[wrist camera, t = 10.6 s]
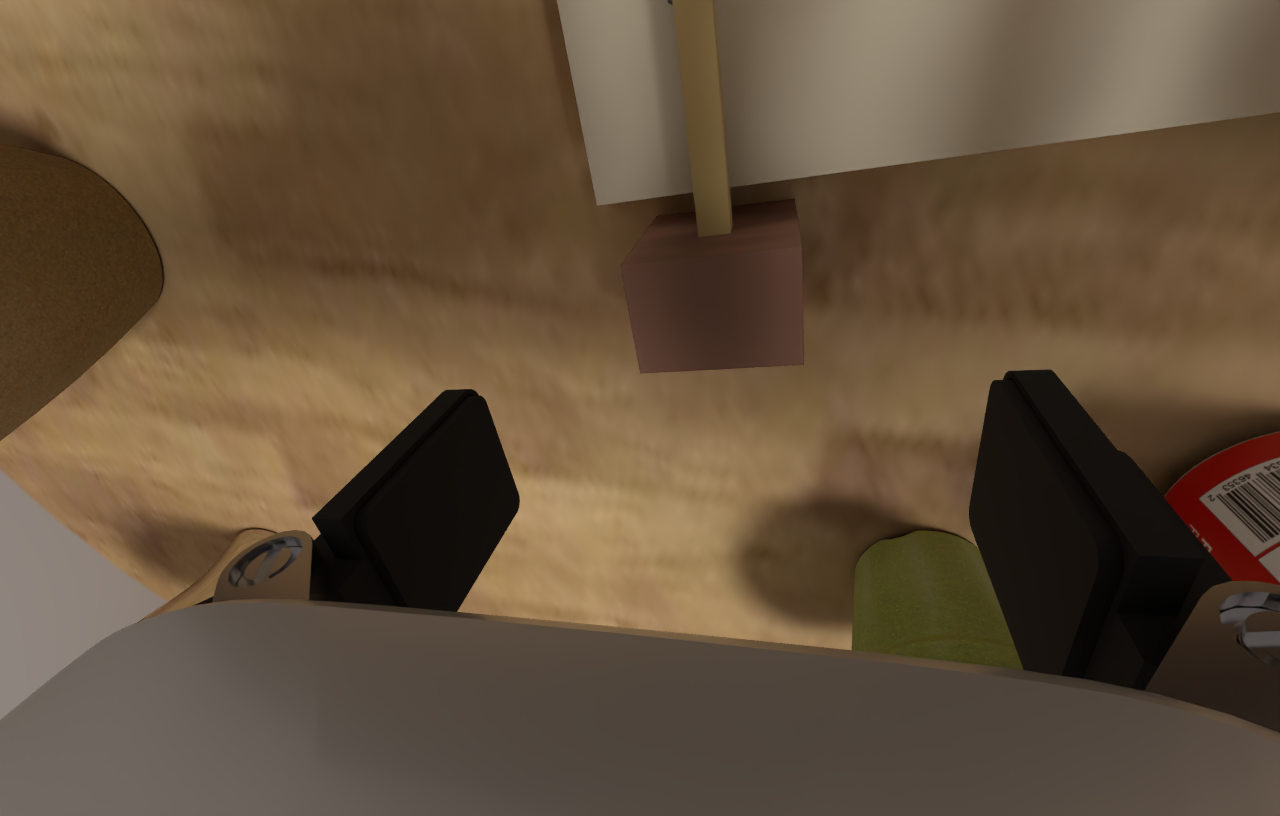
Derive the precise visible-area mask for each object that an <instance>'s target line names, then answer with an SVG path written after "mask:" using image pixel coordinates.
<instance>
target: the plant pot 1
mask: <svg viewBox="0 0 1280 816" xmlns="http://www.w3.org/2000/svg"><path fill="white" fill-rule="evenodd" d="M162 282H163V278H162V267H161V263H160V259H159V255H158V252H157V250H156V247H155V245H154V243H153V241H152V239H151V236H150V235H149V233H148V231H147V229H146V228H145V226H144V224H143V223H142V221H141V220H140V218H139V217H138V216H137V214H136V213H135V212H134V210H133V209H132V208H131V207H130V205H129V204H128V203H127V202H126V201H125V200H124V199H123V198H122V197H121V196H120V195H119V194H118V193H117V192H116V191H115V190H114V189H113V188H112V187H111V186H110V185H109V184H108V183H106V182H105V181H104V180H103V179H101V178H100V177H99V176H97V175H96V174H94V173H93V172H91V171H90V170H88V169H87V168H85V167H83V166H81V165H79V164H77V163H75V162H72V161H70V160H68V159H65V158H62V157H59V156H54V155H50V154H45V153H41V152H36V151H31V150H26V149H21V148H17V147H12V146H7V145H2V144H0V441H1V440H2V439H3V438H5V437H6V436H7V435H9V434H10V433H11V432H12V431H14V430H15V429H16V428H18V427H19V426H20V425H21V424H23V423H24V422H25V421H27V420H28V419H29V418H31V417H32V416H33V415H34V414H36V413H37V412H38V411H39V410H41V409H42V408H43V407H44V406H45V405H47V404H48V403H49V402H50V401H52V400H53V399H54V398H55V397H56V396H58V395H59V394H60V393H61V392H63V391H64V390H65V389H66V388H67V387H68V386H70V385H71V384H72V383H73V382H74V381H76V380H77V379H78V378H79V377H80V376H81V375H82V374H83V373H85V372H86V371H87V370H88V369H89V368H90V367H91V366H92V365H93V364H94V363H96V362H97V361H98V360H99V359H100V358H101V357H102V356H103V355H104V354H105V353H106V352H107V351H108V350H109V349H110V348H112V347H113V346H114V345H115V344H116V343H117V342H118V341H119V340H120V339H121V338H122V337H123V336H124V335H125V334H126V333H127V332H128V331H129V330H130V329H131V328H132V327H133V326H134V325H135V324H136V322H137V321H138V320H139V319H140V318H141V317H142V316H143V315H144V314H145V313H146V312H147V311H148V310H149V309H150V308H151V307H152V305H153V304H154V303H155V302H156V301H157V299H158V297H159V295H160V293H161V289H162Z"/></svg>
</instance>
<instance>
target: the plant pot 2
mask: <svg viewBox="0 0 1280 816" xmlns="http://www.w3.org/2000/svg"><path fill="white" fill-rule="evenodd" d="M852 650H854V651H864V652H874V653H883V654H891V655H900V656H908V657H917V658H926V659H935V660H944V661H952V662H961V663H970V664H978V665H987V666H995V667H1003V668H1012V669H1018V670H1024V669H1023V667H1022V664H1021V661H1020V659H1019V656H1018V653H1017V651H1016V648H1015V645H1014V642H1013V640H1012V637H1011V634H1010V632H1009V629H1008V626H1007V624H1006V621H1005V618H1004V615H1003V613H1002V610H1001V607H1000V605H999V602H998V599H997V597H996V594H995V591H994V588H993V586H992V583H991V580H990V578H989V575H988V572H987V570H986V567H985V564H984V561H983V559H982V556H981V553H980V551H979V549H978V548H977V547H976V546H974V545H973V544H971V543H970V542H968V541H966V540H964V539H962V538H960V537H957V536H955V535H951V534H947V533H943V532H937V531H914V532H912V533H910V534H908V535H905V536H902V537H899V538H894V539H883V540H880V541H878V542H877V543H875V544H873V545H872V546H871V547H870V548H868V549H867V550H866V551H865V552H864V553H863V554H862V556H861V557H860V558H859V560H858V562H857V565H856V568H855V573H854V593H853V631H852Z"/></svg>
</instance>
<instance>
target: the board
mask: <svg viewBox="0 0 1280 816" xmlns="http://www.w3.org/2000/svg"><path fill="white" fill-rule="evenodd" d="M715 3H716V16H717V29H718V42H719V55H720V68H721V80H722V93H723V106H724V119H725V132H726V145H727V157H728V170H729V183H730V187H737V186H745V185H752V184H759V183H767V182H774V181H781V180H789V179H796V178H803V177H811V176H818V175H825V174H833V173H840V172H847V171H855V170H862V169H869V168H877V167H884V166H891V165H899V164H906V163H913V162H921V161H928V160H935V159H943V158H950V157H957V156H965V155H972V154H979V153H986V152H994V151H1001V150H1008V149H1016V148H1023V147H1030V146H1038V145H1045V144H1052V143H1060V142H1067V141H1074V140H1082V139H1089V138H1096V137H1104V136H1111V135H1118V134H1126V133H1133V132H1140V131H1148V130H1155V129H1162V128H1170V127H1177V126H1184V125H1192V124H1199V123H1206V122H1214V121H1221V120H1228V119H1236V118H1243V117H1250V116H1257V115H1265V114H1272V113H1279V112H1280V0H715ZM557 4H558V9H559V14H560V19H561V25H562V30H563V35H564V40H565V45H566V50H567V55H568V60H569V65H570V71H571V76H572V81H573V86H574V91H575V96H576V101H577V106H578V111H579V117H580V122H581V127H582V132H583V137H584V142H585V147H586V152H587V157H588V162H589V168H590V173H591V178H592V183H593V188H594V193H595V198H596V203H597V206H598V205H606V204H613V203H620V202H628V201H635V200H642V199H650V198H657V197H664V196H672V195H679V194H686V193H693V184H692V175H691V166H690V156H689V147H688V138H687V129H686V120H685V111H684V102H683V93H682V83H681V74H680V65H679V56H678V47H677V38H676V29H675V19H674V10H673V5H671V4H669V3H668V1H667V0H557Z"/></svg>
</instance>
